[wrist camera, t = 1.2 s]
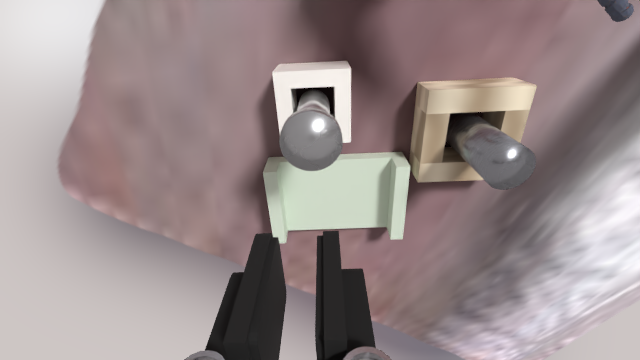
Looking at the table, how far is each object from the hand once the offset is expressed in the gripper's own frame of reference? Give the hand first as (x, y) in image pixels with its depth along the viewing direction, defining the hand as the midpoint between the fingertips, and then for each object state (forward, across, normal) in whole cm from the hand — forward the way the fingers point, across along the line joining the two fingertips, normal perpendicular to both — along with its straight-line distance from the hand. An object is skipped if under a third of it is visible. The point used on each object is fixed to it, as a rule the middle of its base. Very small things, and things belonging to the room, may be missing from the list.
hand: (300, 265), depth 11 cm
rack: (+25, -2, +12) cm, 28 cm away
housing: (+25, 0, 0) cm, 25 cm away
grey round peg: (+25, -16, +4) cm, 30 cm away
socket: (+25, -16, +4) cm, 30 cm away
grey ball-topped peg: (+22, 0, 0) cm, 22 cm away
